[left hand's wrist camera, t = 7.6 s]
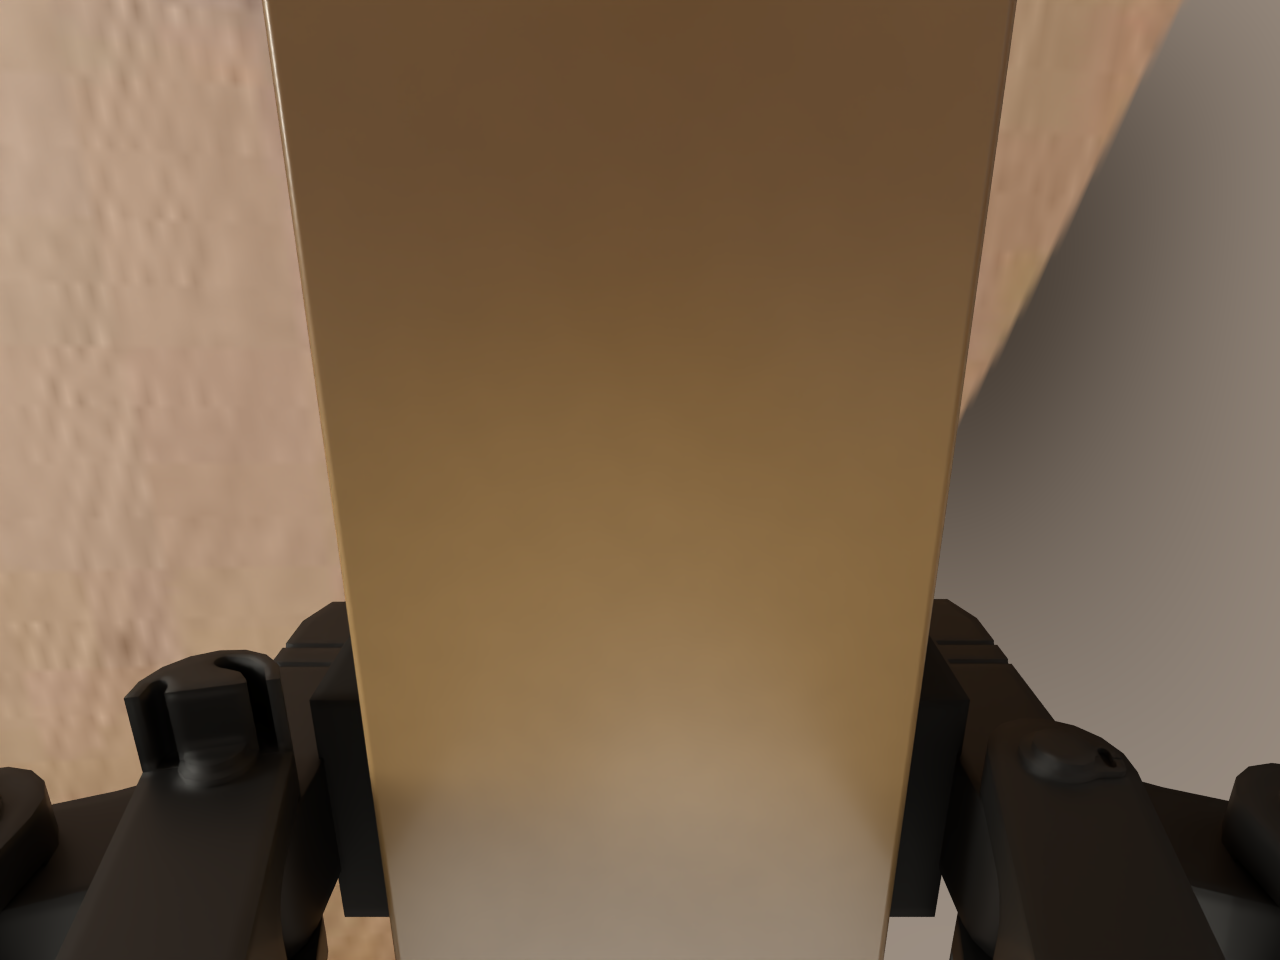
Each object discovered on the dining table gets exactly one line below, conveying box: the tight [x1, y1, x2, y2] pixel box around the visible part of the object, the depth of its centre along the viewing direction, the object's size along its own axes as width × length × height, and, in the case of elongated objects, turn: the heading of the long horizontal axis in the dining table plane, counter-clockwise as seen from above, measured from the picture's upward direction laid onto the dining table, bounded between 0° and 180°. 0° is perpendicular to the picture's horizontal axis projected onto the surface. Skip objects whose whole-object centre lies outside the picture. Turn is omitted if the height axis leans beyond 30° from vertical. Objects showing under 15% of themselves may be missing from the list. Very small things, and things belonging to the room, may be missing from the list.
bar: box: [262, 0, 1017, 960], centre depth 9 cm, size 21×5×8 cm, turn 0°
